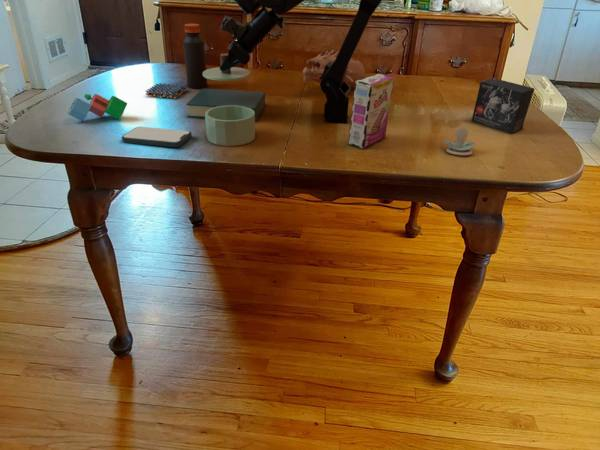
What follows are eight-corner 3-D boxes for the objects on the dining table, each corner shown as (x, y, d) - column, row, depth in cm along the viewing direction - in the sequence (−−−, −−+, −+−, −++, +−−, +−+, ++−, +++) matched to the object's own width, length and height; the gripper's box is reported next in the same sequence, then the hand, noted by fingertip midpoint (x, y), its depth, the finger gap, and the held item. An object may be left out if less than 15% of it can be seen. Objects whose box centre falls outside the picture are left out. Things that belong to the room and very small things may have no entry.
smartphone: (120, 143, 115) (178, 149, 112) (119, 137, 114) (178, 143, 111) (138, 131, 123) (193, 136, 120) (137, 125, 122) (193, 130, 119)
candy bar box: (364, 150, 116) (371, 84, 107) (347, 144, 118) (353, 80, 109) (386, 138, 123) (395, 76, 114) (370, 133, 126) (378, 72, 117)
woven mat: (176, 99, 146) (175, 93, 145) (144, 97, 147) (143, 90, 146) (188, 90, 155) (187, 84, 154) (158, 88, 156) (157, 82, 155)
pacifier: (475, 158, 113) (470, 148, 118) (481, 134, 110) (476, 125, 115) (445, 156, 114) (442, 146, 119) (450, 132, 111) (447, 123, 116)
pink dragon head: (370, 48, 159) (336, 44, 139) (369, 93, 163) (336, 95, 143) (336, 51, 166) (299, 47, 146) (336, 93, 170) (301, 95, 150)
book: (265, 105, 144) (265, 92, 142) (255, 121, 131) (255, 108, 129) (203, 101, 146) (202, 88, 144) (187, 117, 132) (186, 103, 130)
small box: (470, 121, 137) (479, 80, 130) (482, 116, 140) (492, 77, 134) (511, 134, 128) (523, 91, 122) (523, 129, 132) (535, 87, 126)
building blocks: (109, 135, 131) (66, 114, 125) (119, 112, 134) (78, 90, 128) (117, 126, 125) (73, 103, 119) (128, 102, 128) (85, 78, 122)
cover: (250, 71, 139) (249, 49, 136) (249, 83, 127) (248, 60, 124) (205, 70, 138) (203, 49, 135) (199, 82, 127) (197, 59, 123)
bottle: (188, 89, 156) (182, 26, 146) (186, 84, 162) (180, 23, 151) (208, 88, 158) (203, 26, 147) (206, 83, 163) (201, 22, 153)
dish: (243, 125, 128) (242, 102, 124) (263, 141, 119) (262, 116, 115) (200, 132, 122) (198, 108, 119) (217, 149, 113) (215, 124, 110)
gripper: (238, 1, 131) (203, 41, 136) (234, 9, 115) (194, 54, 120) (266, 30, 136) (231, 68, 141) (266, 43, 120) (226, 85, 125)
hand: (221, 68), depth 132 cm, fingers closed on cover, 3 cm apart
